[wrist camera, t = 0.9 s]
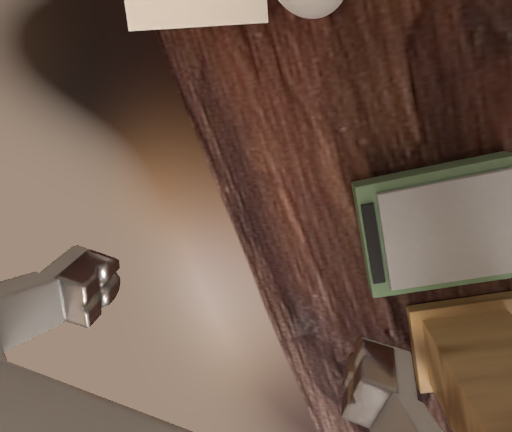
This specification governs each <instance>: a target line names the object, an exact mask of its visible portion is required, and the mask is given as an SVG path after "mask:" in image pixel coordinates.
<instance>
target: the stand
mask: <svg viewBox="0 0 512 432" xmlns="http://www.w3.org/2000/svg"><path fill="white" fill-rule="evenodd" d="M406 312H407V319H408V326H409V334H410V341H411V348H412V356H413V363H414V370H415V377H416V385H417V387H418V389H419V392H420V393H421V394H423V393H432V392H434V393H435V395H436V397H437V399H438V402H439V404H440V406H441V408H442V410H443V412H444V414H445V416H446V418H447V421H448V423H449V425H450V427H451V429H452V431H453V432H512V291H507V292H500V293H493V294H485V295H478V296H471V297H464V298H457V299H450V300H443V301H436V302H429V303H422V304H415V305H408V306H406Z"/></svg>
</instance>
